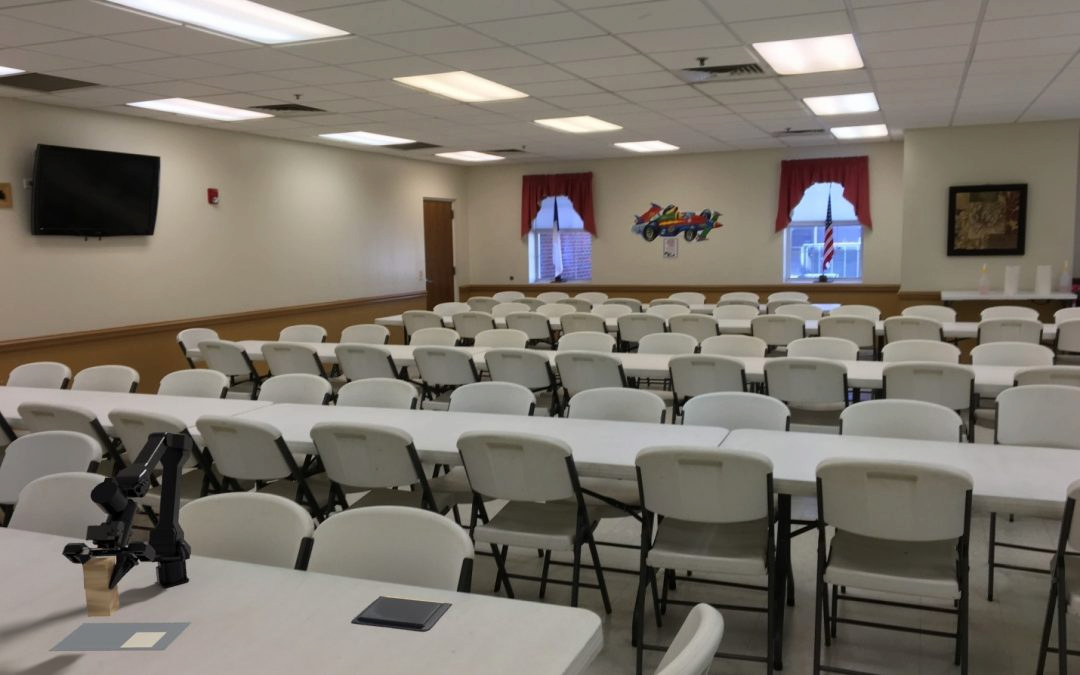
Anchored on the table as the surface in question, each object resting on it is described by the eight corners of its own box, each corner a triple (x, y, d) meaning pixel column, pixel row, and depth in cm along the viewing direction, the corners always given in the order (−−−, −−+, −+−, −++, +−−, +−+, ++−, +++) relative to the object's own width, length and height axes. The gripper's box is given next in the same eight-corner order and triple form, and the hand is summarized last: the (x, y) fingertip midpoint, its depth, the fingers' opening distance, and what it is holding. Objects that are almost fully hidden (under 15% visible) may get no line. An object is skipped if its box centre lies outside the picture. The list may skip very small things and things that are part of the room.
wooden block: (97, 608, 188) (92, 557, 186) (119, 608, 188) (114, 557, 186) (87, 616, 184) (82, 564, 182) (110, 616, 184) (105, 564, 182)
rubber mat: (49, 652, 184) (48, 650, 183) (83, 625, 196) (83, 622, 196) (164, 652, 182) (164, 649, 182) (191, 624, 195) (191, 621, 195)
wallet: (348, 617, 193) (380, 590, 208) (348, 625, 194) (381, 597, 208) (426, 628, 187) (454, 599, 201) (426, 636, 187) (454, 607, 202)
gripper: (62, 509, 187) (37, 576, 178) (144, 506, 187) (124, 574, 177) (85, 530, 196) (62, 595, 186) (164, 528, 196) (145, 593, 186)
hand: (98, 589), depth 184 cm, fingers closed on wooden block, 5 cm apart
